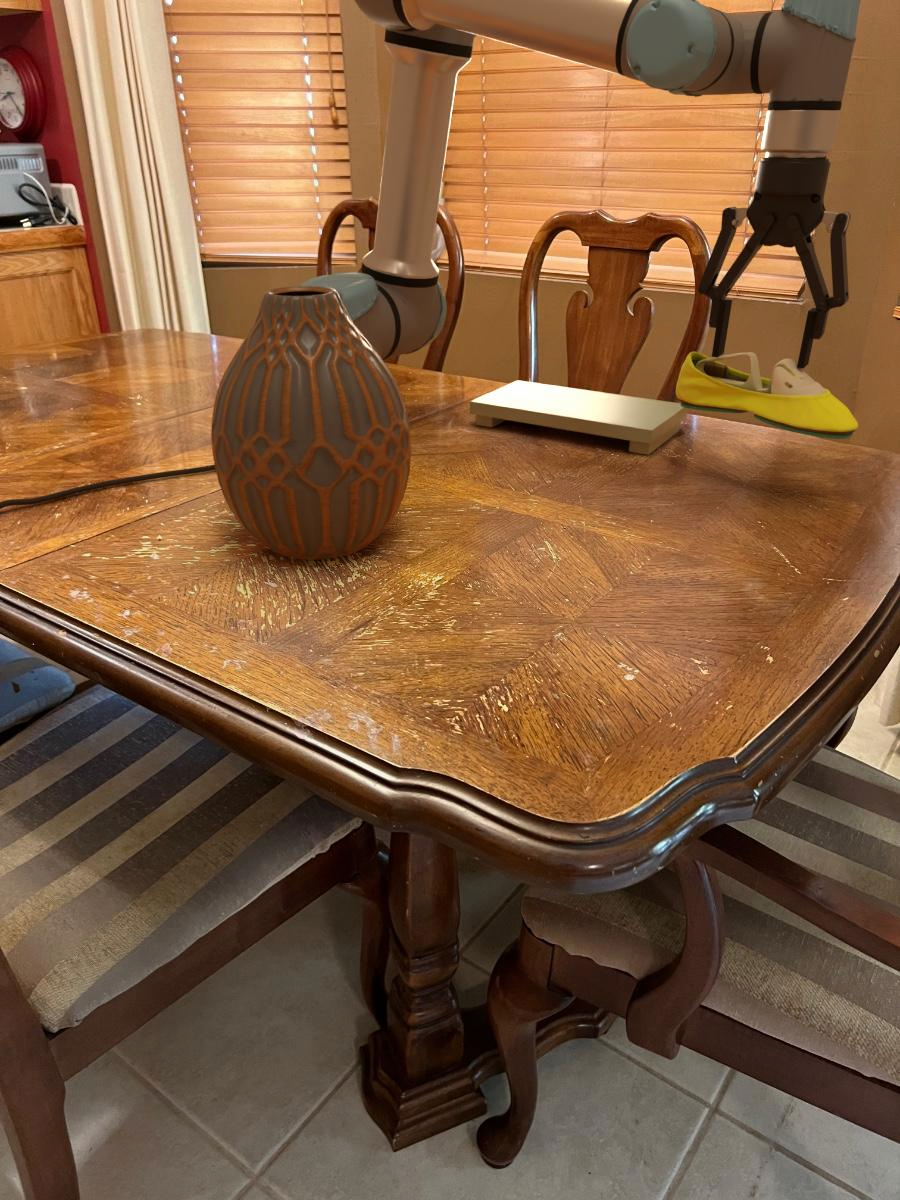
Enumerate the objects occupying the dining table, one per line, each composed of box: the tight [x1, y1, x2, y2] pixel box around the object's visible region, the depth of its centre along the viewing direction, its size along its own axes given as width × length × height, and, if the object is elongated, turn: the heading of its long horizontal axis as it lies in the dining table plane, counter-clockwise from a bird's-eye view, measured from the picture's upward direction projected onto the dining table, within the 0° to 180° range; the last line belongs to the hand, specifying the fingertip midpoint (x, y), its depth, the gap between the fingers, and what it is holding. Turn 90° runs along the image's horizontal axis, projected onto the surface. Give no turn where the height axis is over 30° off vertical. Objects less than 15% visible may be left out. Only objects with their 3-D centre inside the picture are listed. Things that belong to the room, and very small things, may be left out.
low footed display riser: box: [469, 379, 689, 456], centre depth 135 cm, size 16×30×4 cm, turn 58°
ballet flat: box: [675, 351, 859, 440], centre depth 107 cm, size 8×24×8 cm, turn 42°
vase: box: [210, 285, 412, 561], centre depth 92 cm, size 21×21×27 cm
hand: (759, 360), depth 106 cm, fingers closed on ballet flat, 10 cm apart
